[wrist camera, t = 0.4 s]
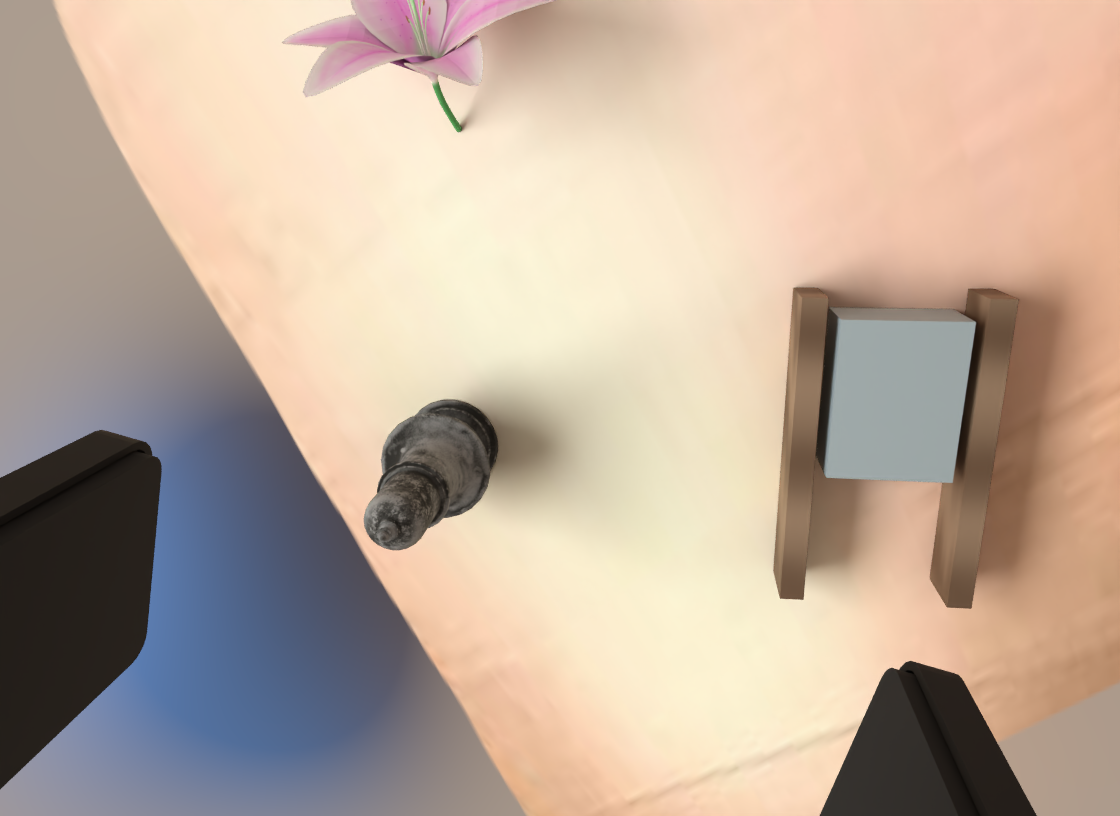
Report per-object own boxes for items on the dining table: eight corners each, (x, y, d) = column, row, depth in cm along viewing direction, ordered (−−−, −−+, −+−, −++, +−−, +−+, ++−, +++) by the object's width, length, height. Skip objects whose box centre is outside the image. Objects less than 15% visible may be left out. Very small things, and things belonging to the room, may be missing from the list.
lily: (621, 38, 40) (578, -121, 31) (509, 248, 39) (431, 147, 30) (424, -26, 44) (334, -185, 35) (318, 165, 43) (197, 53, 34)
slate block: (828, 306, 42) (841, 319, 39) (951, 308, 41) (976, 322, 38) (814, 453, 44) (826, 477, 41) (931, 457, 44) (952, 482, 40)
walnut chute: (793, 287, 42) (802, 298, 39) (994, 288, 40) (1019, 299, 38) (773, 570, 46) (780, 598, 44) (952, 579, 45) (971, 608, 42)
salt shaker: (520, 471, 47) (471, 574, 35) (431, 506, 48) (355, 616, 37) (474, 378, 45) (408, 455, 34) (384, 417, 47) (291, 503, 35)
